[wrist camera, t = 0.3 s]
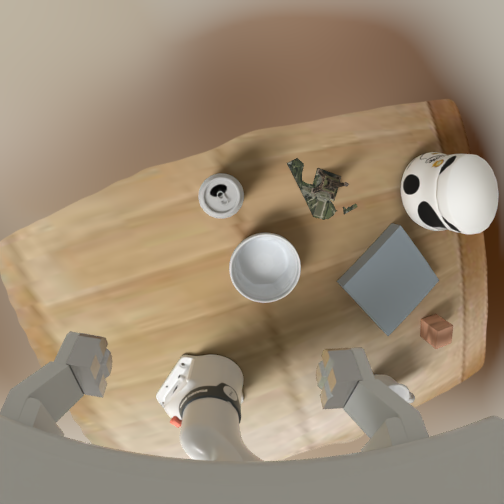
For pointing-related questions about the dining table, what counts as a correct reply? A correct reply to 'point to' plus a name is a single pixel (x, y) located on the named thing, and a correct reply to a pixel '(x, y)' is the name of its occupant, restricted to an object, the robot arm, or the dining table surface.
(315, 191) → the eiffel tower figurine
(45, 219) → the dining table surface
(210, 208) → the can
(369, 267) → the plinth
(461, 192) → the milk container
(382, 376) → the teacup
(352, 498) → the robot arm
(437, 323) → the terracotta block
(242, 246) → the ramekin
